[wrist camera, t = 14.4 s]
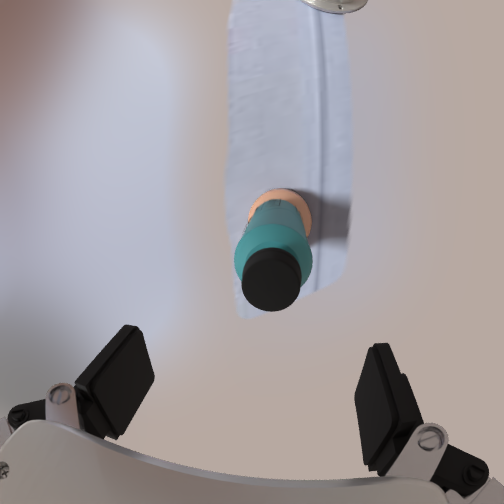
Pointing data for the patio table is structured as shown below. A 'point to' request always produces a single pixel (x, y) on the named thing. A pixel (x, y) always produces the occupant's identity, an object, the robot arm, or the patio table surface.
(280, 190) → the tan rounded flat piece
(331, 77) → the patio table surface
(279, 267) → the beverage bottle
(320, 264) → the patio table surface
